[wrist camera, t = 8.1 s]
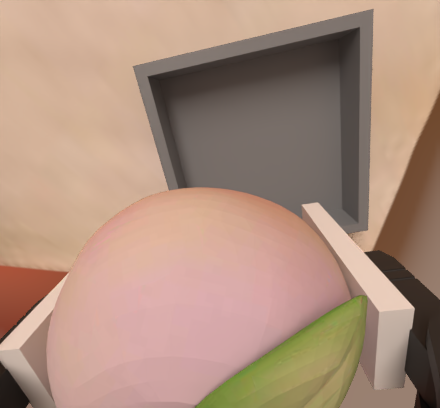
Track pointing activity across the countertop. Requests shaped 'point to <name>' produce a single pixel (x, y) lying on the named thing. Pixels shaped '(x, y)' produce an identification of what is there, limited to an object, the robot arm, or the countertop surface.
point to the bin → (271, 117)
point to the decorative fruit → (204, 310)
